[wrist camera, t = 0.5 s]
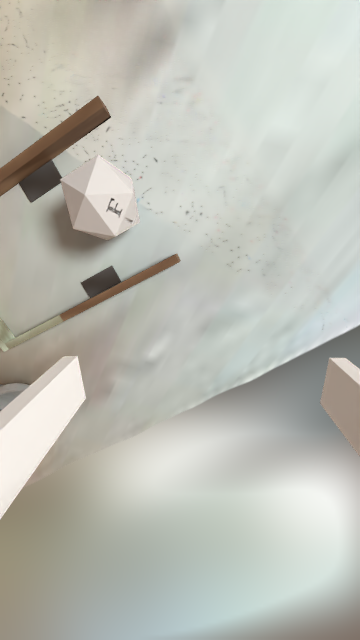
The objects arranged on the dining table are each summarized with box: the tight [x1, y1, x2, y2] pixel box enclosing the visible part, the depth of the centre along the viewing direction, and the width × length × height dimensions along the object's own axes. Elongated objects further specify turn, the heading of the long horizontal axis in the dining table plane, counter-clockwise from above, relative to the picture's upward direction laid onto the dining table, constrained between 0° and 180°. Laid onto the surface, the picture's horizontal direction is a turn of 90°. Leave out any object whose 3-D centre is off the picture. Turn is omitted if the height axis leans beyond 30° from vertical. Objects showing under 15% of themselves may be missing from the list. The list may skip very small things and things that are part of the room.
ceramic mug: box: [0, 383, 30, 409], centre depth 40 cm, size 11×8×8 cm
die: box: [60, 155, 140, 240], centre depth 29 cm, size 8×9×10 cm
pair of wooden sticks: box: [0, 96, 180, 352], centre depth 35 cm, size 21×34×2 cm, turn 117°
